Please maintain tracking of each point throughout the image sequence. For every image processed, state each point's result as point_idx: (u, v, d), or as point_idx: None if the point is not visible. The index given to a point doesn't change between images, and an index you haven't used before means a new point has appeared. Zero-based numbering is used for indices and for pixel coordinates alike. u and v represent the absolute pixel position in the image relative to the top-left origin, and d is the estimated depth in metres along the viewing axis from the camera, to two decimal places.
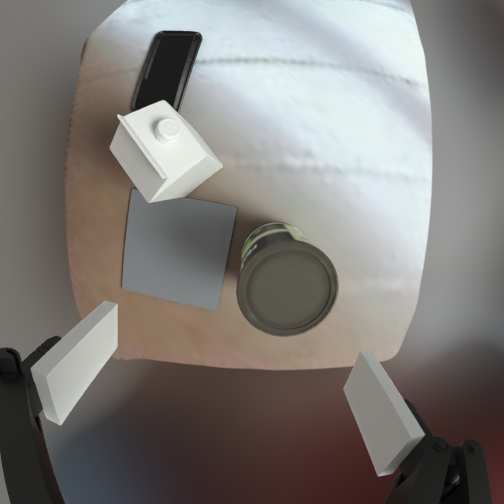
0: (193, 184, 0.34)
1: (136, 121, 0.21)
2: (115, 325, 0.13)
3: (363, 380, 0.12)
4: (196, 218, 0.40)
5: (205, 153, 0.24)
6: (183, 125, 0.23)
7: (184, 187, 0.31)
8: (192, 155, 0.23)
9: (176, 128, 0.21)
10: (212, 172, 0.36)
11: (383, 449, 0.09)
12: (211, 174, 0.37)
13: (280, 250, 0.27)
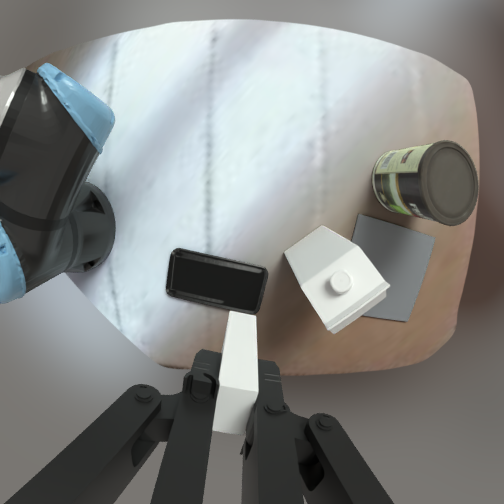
0: None
1: (329, 311, 0.26)
2: None
3: None
4: (364, 251, 0.42)
5: (356, 247, 0.27)
6: (329, 267, 0.27)
7: None
8: (360, 259, 0.26)
9: (341, 274, 0.25)
10: None
11: None
12: None
13: (426, 187, 0.26)
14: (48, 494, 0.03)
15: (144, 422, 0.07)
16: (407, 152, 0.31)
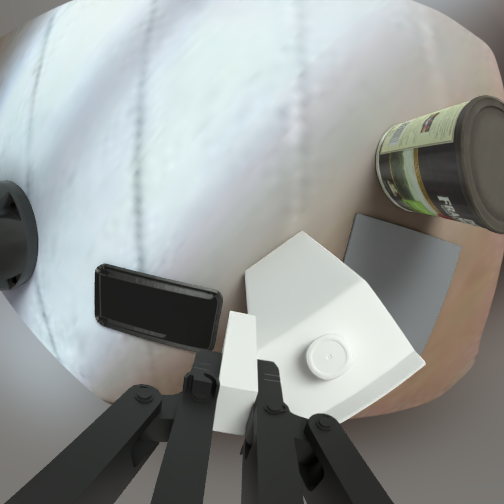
0: None
1: (303, 406, 0.12)
2: None
3: None
4: (365, 268, 0.29)
5: (361, 282, 0.14)
6: (306, 322, 0.14)
7: None
8: (369, 307, 0.13)
9: (330, 344, 0.12)
10: None
11: None
12: None
13: (470, 167, 0.13)
14: (48, 494, 0.03)
15: (144, 422, 0.07)
16: (429, 117, 0.18)
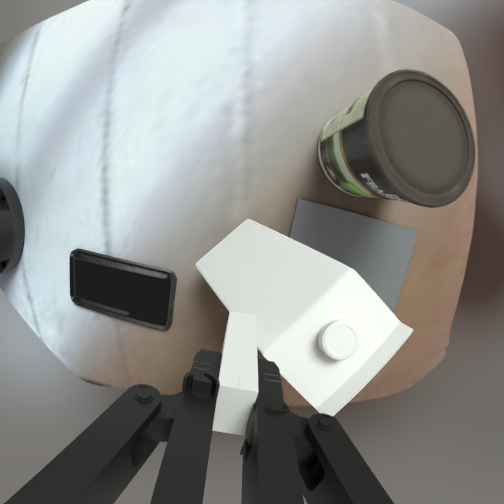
0: None
1: (320, 387, 0.14)
2: None
3: None
4: None
5: (350, 271, 0.16)
6: (309, 313, 0.15)
7: None
8: (360, 292, 0.15)
9: (341, 329, 0.14)
10: None
11: None
12: None
13: (380, 139, 0.16)
14: (48, 494, 0.03)
15: (144, 422, 0.07)
16: (356, 100, 0.20)
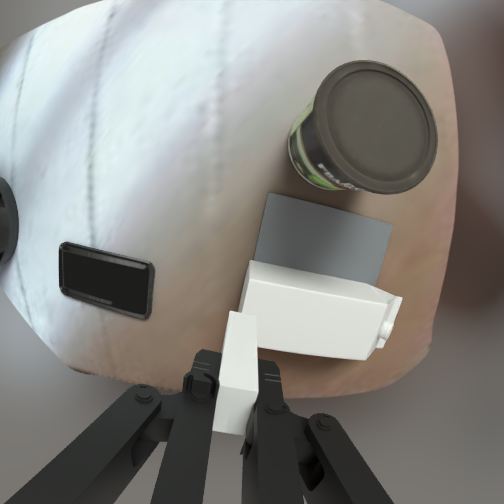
0: (292, 275, 0.30)
1: (377, 342, 0.31)
2: None
3: None
4: (280, 243, 0.33)
5: (387, 306, 0.27)
6: (376, 334, 0.28)
7: (317, 278, 0.31)
8: (388, 307, 0.28)
9: (390, 330, 0.28)
10: (273, 278, 0.28)
11: None
12: (262, 275, 0.28)
13: (328, 128, 0.17)
14: (48, 494, 0.03)
15: (144, 422, 0.07)
16: None
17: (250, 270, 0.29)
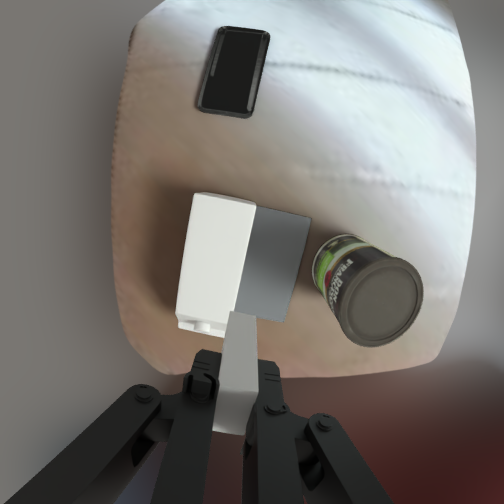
0: None
1: (185, 321, 0.37)
2: None
3: None
4: (269, 228, 0.39)
5: None
6: (201, 319, 0.34)
7: None
8: (225, 326, 0.35)
9: (204, 331, 0.35)
10: None
11: None
12: None
13: (382, 267, 0.26)
14: (48, 494, 0.03)
15: (144, 422, 0.07)
16: None
17: (255, 204, 0.34)
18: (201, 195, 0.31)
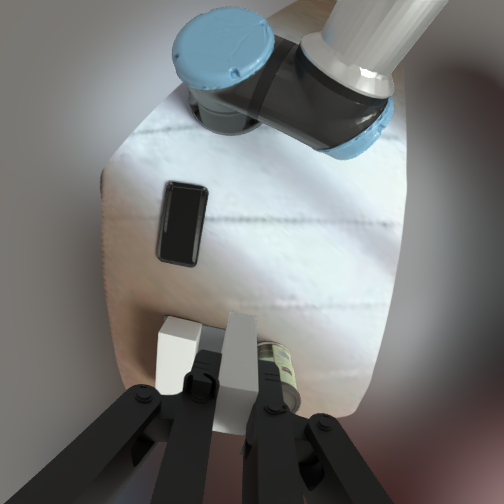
0: (196, 350, 0.53)
1: None
2: None
3: None
4: (212, 338, 0.56)
5: None
6: (171, 394, 0.51)
7: None
8: None
9: None
10: (196, 347, 0.50)
11: None
12: (197, 342, 0.50)
13: None
14: (48, 494, 0.03)
15: (144, 422, 0.07)
16: (289, 370, 0.49)
17: (198, 334, 0.51)
18: (163, 333, 0.48)
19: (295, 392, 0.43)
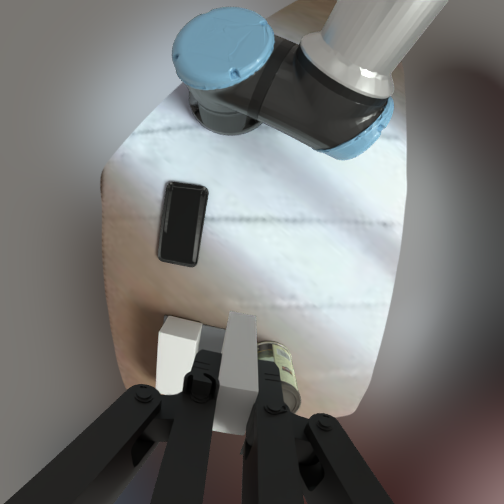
0: (197, 349, 0.53)
1: None
2: None
3: None
4: (212, 338, 0.56)
5: None
6: (171, 393, 0.51)
7: None
8: None
9: None
10: (196, 347, 0.50)
11: None
12: (197, 341, 0.50)
13: None
14: (48, 494, 0.03)
15: (144, 422, 0.07)
16: (290, 370, 0.49)
17: (198, 333, 0.51)
18: (163, 333, 0.48)
19: (295, 392, 0.43)
